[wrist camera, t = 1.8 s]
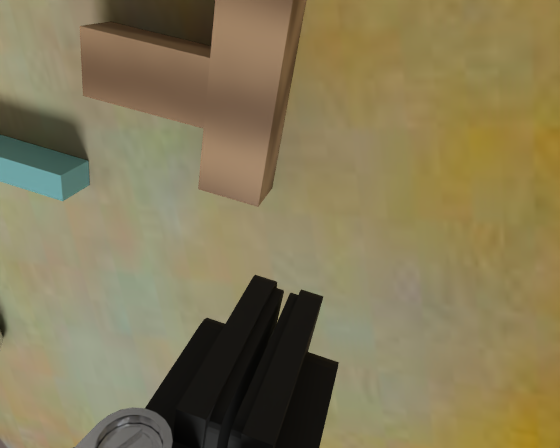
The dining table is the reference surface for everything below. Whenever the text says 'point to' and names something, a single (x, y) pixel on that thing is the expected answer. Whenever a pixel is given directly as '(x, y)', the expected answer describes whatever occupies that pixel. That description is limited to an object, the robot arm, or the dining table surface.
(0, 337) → the plastic bottle
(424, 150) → the dining table surface
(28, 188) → the teal corral
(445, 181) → the dining table surface
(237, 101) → the walnut T-block
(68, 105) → the dining table surface
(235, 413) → the robot arm
